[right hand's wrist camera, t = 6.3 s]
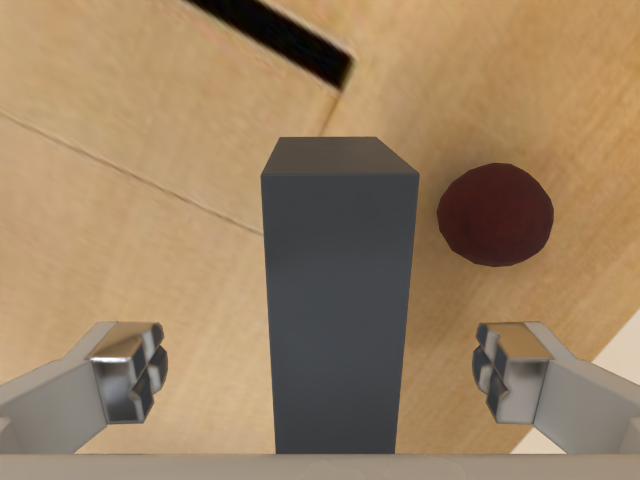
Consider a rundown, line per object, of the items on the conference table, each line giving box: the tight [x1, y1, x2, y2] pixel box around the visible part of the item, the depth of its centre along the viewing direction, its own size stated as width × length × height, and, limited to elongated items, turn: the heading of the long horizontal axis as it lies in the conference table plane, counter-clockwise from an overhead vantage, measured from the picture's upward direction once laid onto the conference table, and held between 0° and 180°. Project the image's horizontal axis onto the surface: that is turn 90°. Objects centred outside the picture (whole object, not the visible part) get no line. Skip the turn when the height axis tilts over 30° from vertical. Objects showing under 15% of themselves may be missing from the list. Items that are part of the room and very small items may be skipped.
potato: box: [437, 163, 554, 267], centre depth 30 cm, size 7×8×7 cm
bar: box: [261, 137, 419, 454], centre depth 21 cm, size 23×5×9 cm, turn 0°
